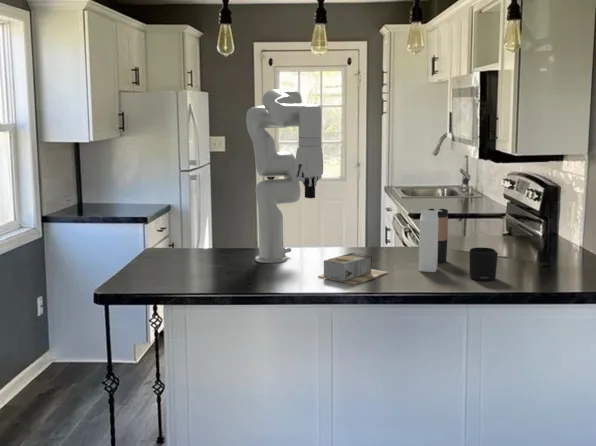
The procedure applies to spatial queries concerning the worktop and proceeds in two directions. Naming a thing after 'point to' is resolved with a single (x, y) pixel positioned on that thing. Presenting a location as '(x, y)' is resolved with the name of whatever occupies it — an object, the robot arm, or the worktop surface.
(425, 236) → the milk
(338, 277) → the coffee box
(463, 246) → the worktop surface
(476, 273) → the pen holder
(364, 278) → the tan wooden board
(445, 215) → the travel mug
